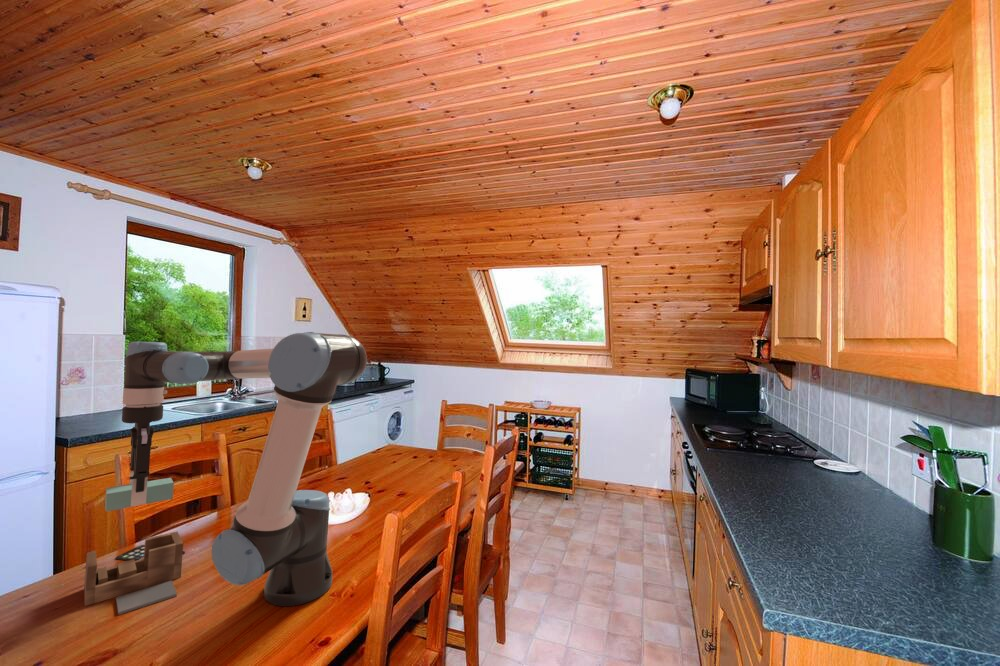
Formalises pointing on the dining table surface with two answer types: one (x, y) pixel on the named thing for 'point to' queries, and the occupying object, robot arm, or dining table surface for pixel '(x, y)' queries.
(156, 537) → the walnut jig
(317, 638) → the dining table surface
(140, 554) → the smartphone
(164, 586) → the slate pad
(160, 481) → the teal block
